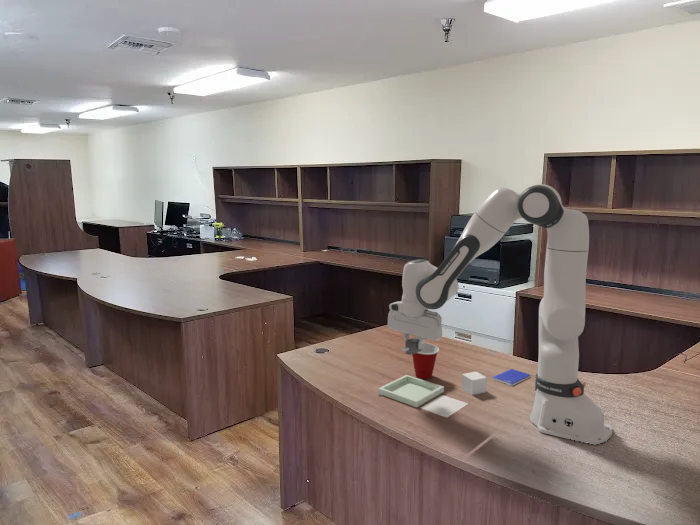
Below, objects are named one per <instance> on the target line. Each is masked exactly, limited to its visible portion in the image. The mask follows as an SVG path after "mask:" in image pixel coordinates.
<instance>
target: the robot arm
mask: <svg viewBox="0 0 700 525" xmlns="http://www.w3.org/2000/svg"><path fill="white" fill-rule="evenodd" d="M519 219H523V220H524V221H526V222H528V223H529V224H532V225H535V226H538V227H540V228H544V229H546V231H547V240H546V248H545V258H544V259H545V261H544V270H543V272H544V273H543V297H542V298H541V300H540V302H539V306H538V359H537V360H538V361H537V373H536V374H535V381H534V388H535V389H534V391H535V397H534V401H533V406H532V409H531V412H530V414H529V420H530V421H531V423H532V424H533V425H535V427H537V429H538V431H539V432H540V433H542V434H547V435H550V436H555V437H558V438H563V439H566V440H570V439H571V440H570V441H574V440H575V442H579V441H581V442H580V443H583V442H588V443H591V444H599V443H602V442H605V441H606V442H608V441H609V440H610V439H611V437H612V435H613V427H612V426H611V424H610V423H607V422H605V417H604V412H603V410H602V408H601V407H600V406H599V405H598V404H596V403H595V402H594V401H593V399H591V398H590V397H589V396H588V395H587V394H585V393H584V392H585V387H586V382H585V381H584V382H583V383H582V382H581V381H580V379H579V377H578V376H579V364H580V363H579V361H580V351H579V336H581V334H582V333H583V332H584V329H585V325H586V324H585V323H586V305H587V304H586V301H587V298H586V297H587V295H586V293H587V291H586V289H587V288H586V286H587V284H586V283H587V282H586V281H587V280H586V279H587V277H586V276H587V269H588V258H589V248H590V228H589V226H590V225H589V219H588V217H587V215H586V214H585V213H584V212H582V211H580V210H577V209H570V208H566V207H564V206H563V199H562V196H561V193H560V192H559V191H558V190H557V189H555V188H554V187H552V186H550V185H549V184H548V185H547V184H544V183H543V184H542V183H541V184H535V185H532V186H529V187H527V188H525V189H524V190H523V191H522V192H521V193H518V192H516V191H515V190H513V189H511V188H508V187H499V188H496V189H495V190H494V191H492V192H491V194H489V195H488V197H486V198H485V199H484V200H483V202H481V204H480V205H479V206H478V207H477V208H476V210H475V212H474V213H473V214H472V216H471V217H470V218H469V220H468V222H467V224H466V225H465V227H464V229H463V231H462V233H461V234H460V237H459V238H458V240H457V241H456V243H455V245H454V247H453V248H452V249H451V251H450V252H449V254H447V255H446V257H445V258H444V259H443V261H442V262H441V263H440V265H439V266H438V267H437V266H435V265H433V264H431V263H430V261H429V260H427V259H423V258H422V259H414V260H413V259H412V260H409V261H408V262H406V263H405V264H404V266H403V270H402V277H401V278H402V280H401V283H402V284H401V286H402V296H401V300H398V301H394V302H392V303H390V304H389V305H388V308H389V312H388V316H387V326H388V328H389V330H392V331H396V332H398V333H399V332H400V333H402V337H403V339H404V341H406V340H409V339H411V338H410V336H409V335H411V336H414V337H419V340H420V341H419V343H417V344H416V348H417V349H422V346H423V343H425V341H426V340H430V341H434V342H436V341H439V340H441V339H442V337H443V326H442V319H443V318H442V316H441V315H440V314H439V312H437V311H433V310H437V309H441V308H442V307H443V306H444V305H445V304H446V303H447V302H448V301H450V300H451V298H453V297H454V296H455V295H456V294H457V293H458V289H459V280H458V277H459V276H460V275H461V274H462V272H463V271H464V270H465V268H467V266H468V265H469V264H470V263H471V262H472V261H474V260H475V259H476V258H477V257H479V256H480V255H482V254H484V253H485V252H487V251H489V250H490V249H491V248H492V247H494V246H495V245H496V244H497V243H498V242H499V241H500V240H501V239H502V237H504V236H505V234H506V233H507V232H508V230H509V229H510V228H511V226H513V224H514V223H515V222H516V221H517V220H519ZM610 436H611V437H610ZM609 438H610V439H609ZM608 439H609V440H608ZM607 440H608V441H607ZM606 442H605V443H606ZM591 444H590V445H591ZM599 445H600V444H599Z"/></svg>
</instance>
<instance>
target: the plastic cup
mask: <svg viewBox="0 0 700 525" xmlns="http://www.w3.org/2000/svg"><path fill="white" fill-rule="evenodd" d="M439 352H440V347H438V346H437V345H435V344H432V343H429V342H424V343H423V346H422V350H421V351H419V352H417V353H415V354H411V355H412V361H413V368H414V372H415V378H418V379H422V380H428V379H431V378H432V377H433V374H434V373H433V372H434V368H435V364H436V359H437V355H438V353H439Z"/></svg>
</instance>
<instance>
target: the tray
mask: <svg viewBox="0 0 700 525" xmlns="http://www.w3.org/2000/svg"><path fill="white" fill-rule="evenodd" d="M377 390H378V392H377V394H378V396H380V397H382V396H384V397H387V398H389V399H392V400H395V401H398V402H401V403H403V404H405V405H408V406H411V407H413V408H416V409H417V408H418V407H420V406H423V405H425V403H426V404H427V403H428V402H430V401H432V400H433V399H434V398H437V397H439V396H440V395H442V394H443V393H444V392H445V386H444V385H441V384H437V383H434V382H431V381H427V380H426V379H419V378H416V376H411V375H408V374H405V375H403V376H401V377H399V378H397V379H395V380H393V381H390V382H389V383H387V384H384V385H382V386H380V387H378V389H377Z"/></svg>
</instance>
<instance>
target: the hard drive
mask: <svg viewBox="0 0 700 525" xmlns="http://www.w3.org/2000/svg"><path fill="white" fill-rule="evenodd" d="M530 377H531V375H530V373H526V372H523V371H520V370H517V369H513V368H510V369H508V370H505V371H503V372H500V373H498V374H497V375H494V376H492V377H491V380H492V379H493V381H495V380H496V381H495V382H498V381H499V382H498V383H501V382H502V383H501V384H504V383H505V384H504V385H506V386H507V385H508V386H510V387H513V386H515V385H517V384H519V383H521V382H523V381H525V380H527V379H529V378H530Z"/></svg>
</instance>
